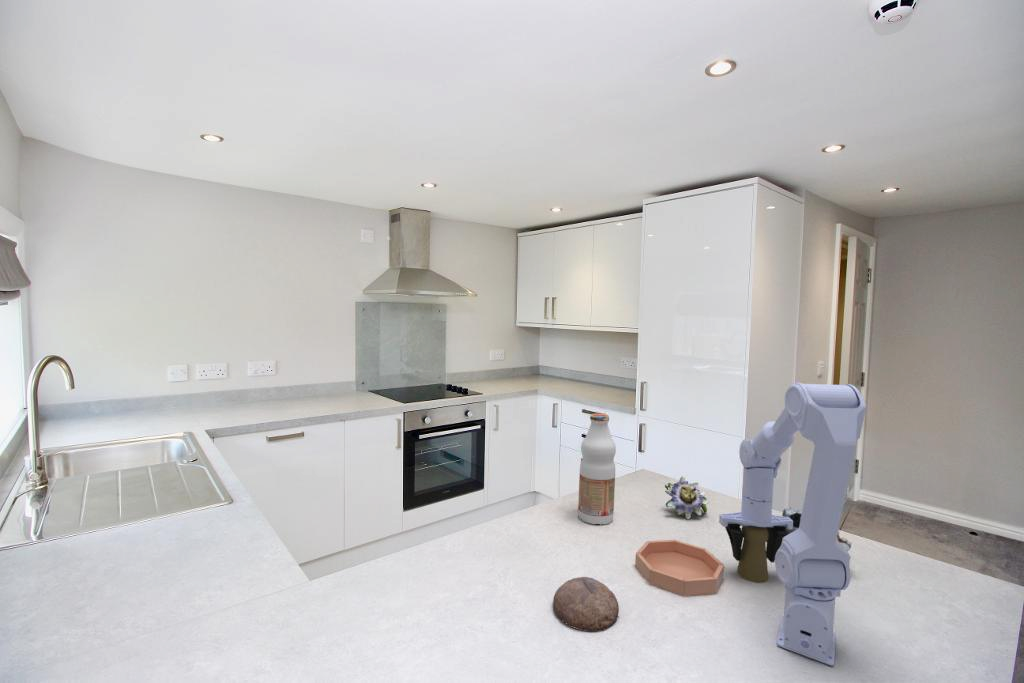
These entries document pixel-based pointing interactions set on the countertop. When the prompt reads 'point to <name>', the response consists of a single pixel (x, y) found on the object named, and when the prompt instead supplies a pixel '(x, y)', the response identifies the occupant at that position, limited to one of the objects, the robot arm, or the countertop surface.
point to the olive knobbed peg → (754, 554)
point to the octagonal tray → (679, 567)
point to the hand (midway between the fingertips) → (753, 559)
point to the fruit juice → (597, 473)
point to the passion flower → (686, 498)
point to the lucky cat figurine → (796, 522)
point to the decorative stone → (586, 604)
